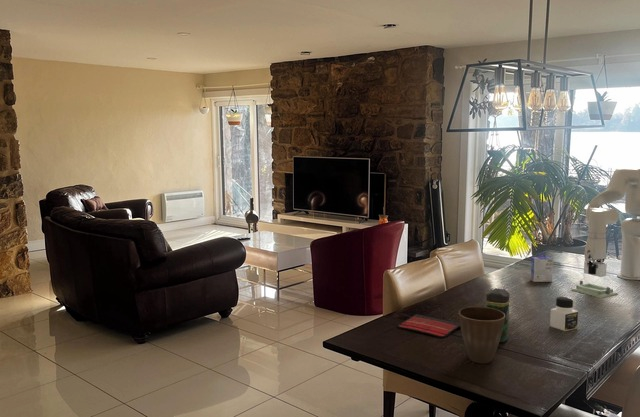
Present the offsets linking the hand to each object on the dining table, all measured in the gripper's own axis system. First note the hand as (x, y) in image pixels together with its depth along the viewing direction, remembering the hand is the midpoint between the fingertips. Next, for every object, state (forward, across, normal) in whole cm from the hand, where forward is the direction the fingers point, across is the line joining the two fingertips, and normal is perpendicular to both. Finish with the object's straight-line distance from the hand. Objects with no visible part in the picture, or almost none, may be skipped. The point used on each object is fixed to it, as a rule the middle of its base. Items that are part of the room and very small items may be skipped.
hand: (594, 273), depth 267 cm
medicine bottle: (+10, +55, +28) cm, 62 cm away
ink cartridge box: (+10, +4, -28) cm, 30 cm away
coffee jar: (+11, +87, +25) cm, 91 cm away
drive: (+1, 0, 0) cm, 1 cm away
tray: (+9, 0, 0) cm, 9 cm away
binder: (+11, +101, +3) cm, 101 cm away
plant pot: (+11, +106, +37) cm, 112 cm away
